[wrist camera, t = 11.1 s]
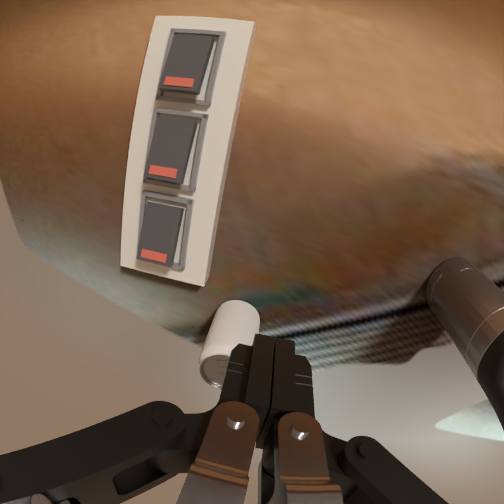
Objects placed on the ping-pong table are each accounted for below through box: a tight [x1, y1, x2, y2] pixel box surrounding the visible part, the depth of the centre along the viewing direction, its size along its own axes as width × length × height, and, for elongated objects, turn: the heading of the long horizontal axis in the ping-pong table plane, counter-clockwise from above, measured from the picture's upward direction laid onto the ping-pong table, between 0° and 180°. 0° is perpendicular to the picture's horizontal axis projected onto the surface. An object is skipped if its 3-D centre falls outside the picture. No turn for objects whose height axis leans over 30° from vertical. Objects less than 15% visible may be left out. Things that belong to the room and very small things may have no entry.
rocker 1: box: [158, 34, 215, 95], centre depth 29 cm, size 4×7×1 cm, turn 169°
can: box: [200, 300, 260, 390], centre depth 40 cm, size 6×6×12 cm
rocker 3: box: [136, 201, 184, 267], centre depth 37 cm, size 4×7×1 cm, turn 169°
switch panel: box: [121, 16, 257, 287], centre depth 36 cm, size 12×33×4 cm, turn 169°
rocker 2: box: [143, 117, 198, 184], centre depth 33 cm, size 4×7×1 cm, turn 169°
